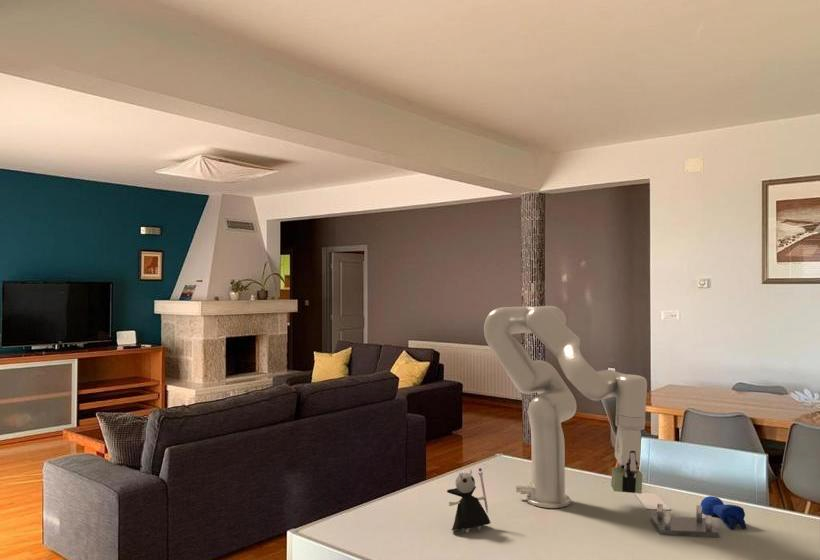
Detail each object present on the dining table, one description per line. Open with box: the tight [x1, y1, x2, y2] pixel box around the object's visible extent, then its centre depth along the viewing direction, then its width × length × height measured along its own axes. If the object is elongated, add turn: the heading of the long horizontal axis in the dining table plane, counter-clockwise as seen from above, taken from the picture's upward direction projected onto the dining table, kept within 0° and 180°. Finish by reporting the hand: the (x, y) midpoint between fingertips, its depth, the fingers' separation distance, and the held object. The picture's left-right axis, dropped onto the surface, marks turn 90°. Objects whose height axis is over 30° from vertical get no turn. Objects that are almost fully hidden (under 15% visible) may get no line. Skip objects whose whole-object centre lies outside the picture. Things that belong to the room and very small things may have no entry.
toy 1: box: [446, 467, 492, 533], centre depth 164 cm, size 12×7×15 cm, turn 117°
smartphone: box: [633, 492, 672, 512], centre depth 184 cm, size 7×1×15 cm
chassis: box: [650, 504, 720, 538], centre depth 163 cm, size 14×10×5 cm
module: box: [610, 467, 643, 494], centre depth 170 cm, size 7×4×5 cm, turn 82°
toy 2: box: [700, 496, 748, 531], centre depth 170 cm, size 7×6×15 cm
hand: (626, 487), depth 170 cm, fingers closed on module, 4 cm apart
